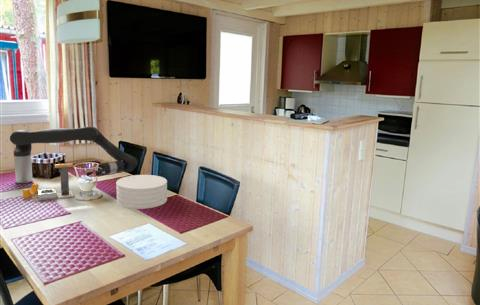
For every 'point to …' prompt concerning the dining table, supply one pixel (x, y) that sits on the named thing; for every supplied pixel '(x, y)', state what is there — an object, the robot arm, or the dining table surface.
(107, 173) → the robot arm
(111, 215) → the dining table surface
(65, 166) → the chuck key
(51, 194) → the white flat block
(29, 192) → the orange irregular block
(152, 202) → the plate stack
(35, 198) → the pale flat board
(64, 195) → the rest pad
